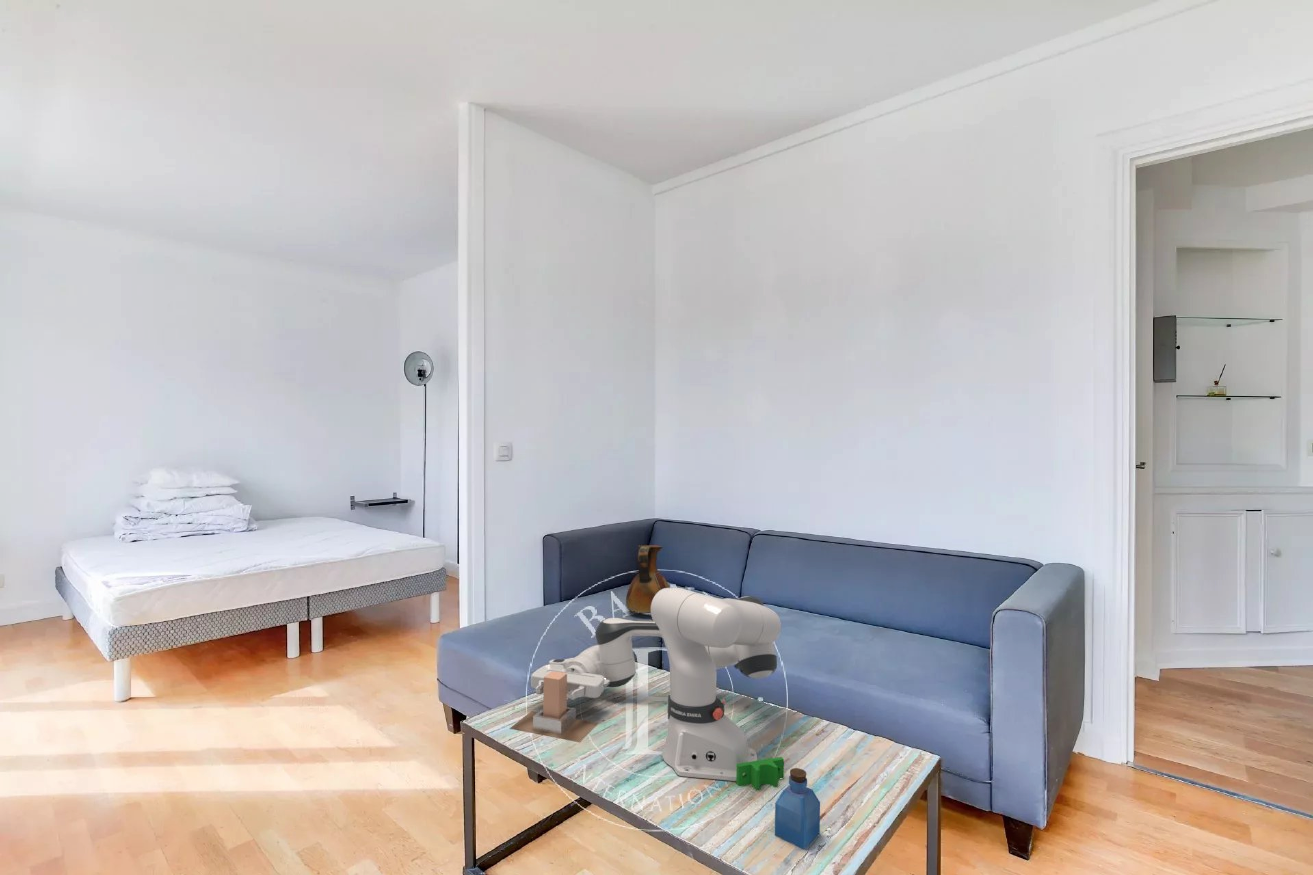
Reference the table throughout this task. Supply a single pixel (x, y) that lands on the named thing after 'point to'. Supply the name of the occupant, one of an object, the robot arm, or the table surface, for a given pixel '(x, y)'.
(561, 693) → the tall rectangular block
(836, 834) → the table surface
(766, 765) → the pipe clamp
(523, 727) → the holder base
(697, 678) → the robot arm
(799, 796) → the perfume bottle
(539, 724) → the square metal frame
